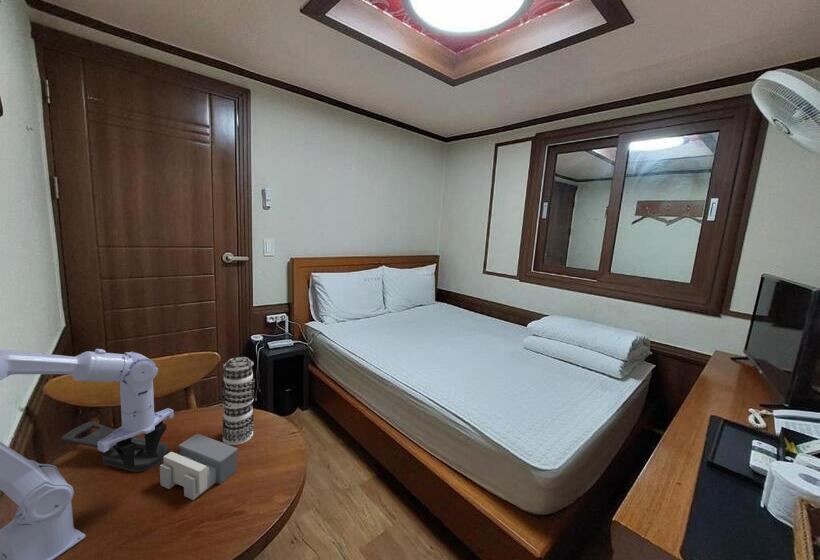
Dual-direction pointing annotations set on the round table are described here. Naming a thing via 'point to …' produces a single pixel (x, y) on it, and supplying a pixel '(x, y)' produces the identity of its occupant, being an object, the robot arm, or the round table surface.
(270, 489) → the round table surface
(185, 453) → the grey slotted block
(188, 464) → the door panel
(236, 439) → the decorative candle
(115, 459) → the zipper pull
